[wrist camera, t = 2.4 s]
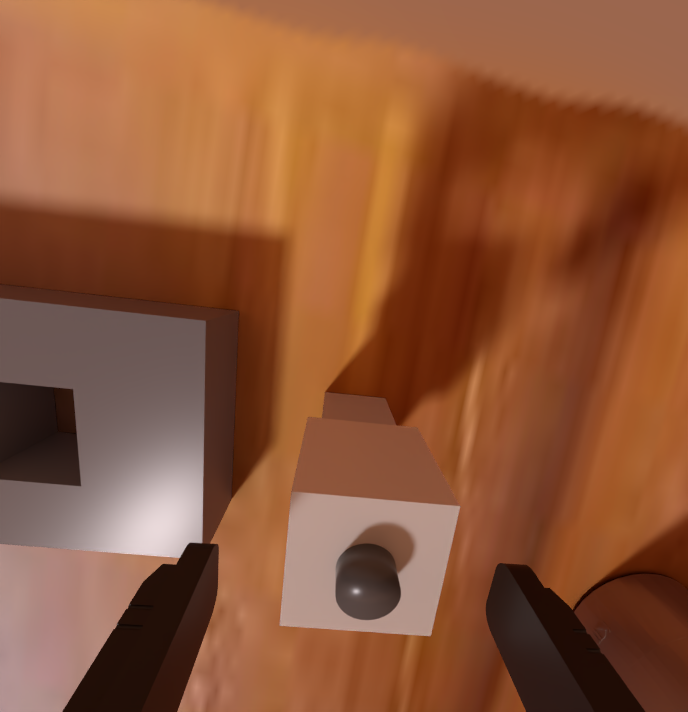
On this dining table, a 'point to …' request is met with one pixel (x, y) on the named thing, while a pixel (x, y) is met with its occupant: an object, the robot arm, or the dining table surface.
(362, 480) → the plug
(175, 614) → the robot arm
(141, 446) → the socket
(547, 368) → the dining table surface
